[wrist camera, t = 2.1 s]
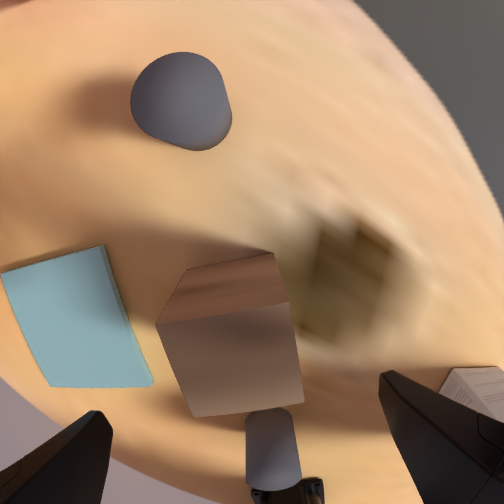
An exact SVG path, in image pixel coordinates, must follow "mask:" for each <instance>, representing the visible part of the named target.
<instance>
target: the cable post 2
mask: <svg viewBox="0 0 504 504" xmlns="http://www.w3.org/2000/svg"><path fill="white" fill-rule="evenodd" d="M301 478H302V473H301V467H300V461H299V455H298V449H297V443H296V437H295V431H294V426H293V420H292V416H291V414H290V413H289V412H288V411H287V410H285V409H283V408H279V407H276V408H271V409H264V410H258V411H253V412H251V413H250V414H249V415H248V417H247V418H246V482H247V484H248V485H249V486H251V487H252V488H255V489H258V490H263V491H277V490H283V489H286V488H289V487H292V486H294V485H295V484H297V483H298V482H299V481H300V480H301Z"/></svg>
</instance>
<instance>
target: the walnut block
mask: <svg viewBox="0 0 504 504" xmlns="http://www.w3.org/2000/svg"><path fill="white" fill-rule="evenodd" d="M155 325H156V328H157V331H158V334H159V336H160V339H161V342H162V344H163V347H164V349H165V352H166V355H167V357H168V360H169V362H170V365H171V367H172V369H173V372H174V374H175V377H176V379H177V381H178V384H179V386H180V388H181V391H182V393H183V395H184V398H185V400H186V402H187V404H188V406H189V409H190V411H191V413H192V415H193V417H207V416H218V415H227V414H236V413H244V412H251V411H258V410H264V409H271V408H276V407H282V406H288V405H293V404H298V403H303V402H305V400H304V393H303V386H302V379H301V373H300V366H299V360H298V353H297V347H296V340H295V334H294V328H293V322H292V316H291V310H290V304H289V300H288V296H287V293H286V290H285V287H284V284H283V281H282V278H281V275H280V271H279V268H278V265H277V262H276V259H275V256H274V253H269V254H264V255H259V256H254V257H249V258H244V259H239V260H234V261H229V262H223V263H218V264H213V265H208V266H203V267H198V268H193V269H187V270H186V272H185V274H184V275H183V277H182V279H181V281H180V282H179V284H178V286H177V287H176V289H175V291H174V293H173V294H172V296H171V298H170V300H169V301H168V303H167V305H166V307H165V308H164V310H163V312H162V314H161V315H160V317H159V319H158V321H157V322H156V324H155Z"/></svg>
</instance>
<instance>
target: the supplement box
mask: <svg viewBox="0 0 504 504" xmlns="http://www.w3.org/2000/svg"><path fill="white" fill-rule="evenodd" d="M438 393H440V394H442V395H444V396H446V397H448V398H450V399H452V400H454V401H456V402H458V403H461V404H463V405H465V406H467V407H469V408H471V409H473V410H475V411H477V412H478V413H479V412H480V413H482V414H484V415H486V416H489V417H491V418H493V419H496V420H498V421H501V422H503V423H504V371H503V370H502V369H501V368H500V367H487V368H453V369H452V370H451V372H450V374H449V375H448V377H447V379H446V381H445V382H444V384H443V386H442V387H441V389H440V391H439V392H438Z"/></svg>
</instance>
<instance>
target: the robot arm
mask: <svg viewBox="0 0 504 504" xmlns="http://www.w3.org/2000/svg"><path fill="white" fill-rule="evenodd" d="M378 394H379V399H380V402H381V405H382V408H383V411H384V414H385V417H386V419H387V422H388V425H389V428H390V431H391V434H392V437H393V439H394V441H395V444H396V446H397V448H398V450H399V452H400V454H401V456H402V458H403V460H404V462H405V464H406V466H407V468H408V470H409V472H410V475H411V477H412V479H413V481H414V483H415V485H416V487H417V490H418V492H419V494H420V496H421V498H422V500H423V503H424V504H504V423H503V422H501V421H498V420H496V419H493V418H491V417H489V416H486V415H484V414H482V413H480V412H479V413H478V412H477V411H475V410H473V409H471V408H469V407H467V406H465V405H463V404H461V403H458V402H456V401H454V400H452V399H450V398H448V397H446V396H444V395H442V394H440V393H438V392H436V391H434V390H432V389H430V388H428V387H426V386H424V385H422V384H420V383H418V382H416V381H414V380H412V379H410V378H408V377H406V376H404V375H402V374H400V373H398V372H396V371H394V370H390V371H387V372H384V373H381V374H380V377H379V392H378ZM112 437H113V429H112V426H111V425H110V423H109V422H108V420H107V419H106V417H105V415H104V414H103V413H102V412H101V411H95V410H92V411H89V412H88V413H86V414H85V415H83V416H82V417H81V418H79V419H78V420H76V421H75V422H74V423H72V424H71V425H69V426H68V427H66V428H65V429H64V430H62V431H61V432H59V433H58V434H56V435H55V436H54V437H52V438H51V439H49V440H48V441H46V442H45V443H43V444H42V445H41V446H39V447H38V448H36V449H35V450H33V451H32V452H30V453H29V454H27V455H26V456H24V457H23V459H20V460H18V461H17V462H16V463H14V464H12V465H11V466H9V467H8V468H6V469H4V470H2V471H1V472H0V504H100V503H101V498H102V493H103V489H104V485H105V479H106V476H107V471H108V466H109V459H110V451H111V444H112ZM251 496H252V498H253V500H254V502H255V504H325V502H324V487H323V480H322V479H315V480H310V481H305V482H300V483H297V484H295V485H294V486H292V487H289V488H286V489H283V490H277V491H263V490H258V489H252V490H251Z"/></svg>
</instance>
